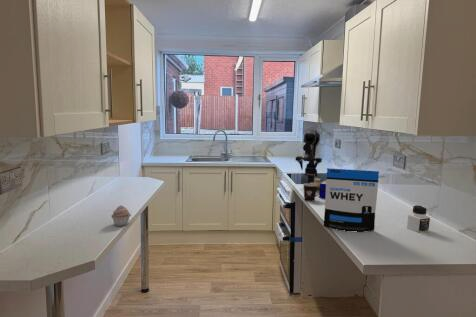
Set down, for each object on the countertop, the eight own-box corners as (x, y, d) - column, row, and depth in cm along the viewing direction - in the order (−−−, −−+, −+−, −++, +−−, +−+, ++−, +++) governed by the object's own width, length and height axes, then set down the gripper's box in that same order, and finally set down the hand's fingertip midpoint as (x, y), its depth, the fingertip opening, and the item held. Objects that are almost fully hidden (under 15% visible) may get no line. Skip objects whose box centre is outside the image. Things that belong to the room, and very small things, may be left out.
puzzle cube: (319, 198, 230) (319, 183, 229) (322, 194, 239) (323, 180, 237) (334, 200, 226) (335, 185, 224) (337, 196, 234) (338, 182, 233)
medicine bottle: (418, 232, 170) (421, 209, 168) (406, 227, 176) (408, 205, 174) (428, 230, 172) (431, 207, 171) (416, 226, 179) (418, 203, 177)
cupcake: (124, 228, 167) (123, 208, 165) (107, 226, 169) (106, 206, 168) (134, 222, 176) (134, 203, 174) (118, 220, 178) (118, 201, 177)
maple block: (314, 183, 259) (315, 178, 259) (320, 184, 258) (320, 178, 257) (313, 184, 256) (314, 179, 255) (319, 185, 254) (319, 179, 254)
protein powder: (323, 223, 181) (326, 166, 176) (372, 227, 175) (377, 169, 171) (323, 229, 172) (327, 170, 167) (375, 234, 166) (380, 173, 162)
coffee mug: (300, 199, 225) (300, 184, 223) (307, 197, 231) (308, 182, 229) (316, 203, 217) (316, 187, 215) (322, 200, 223) (323, 185, 221)
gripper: (294, 150, 251) (293, 171, 254) (320, 152, 244) (319, 173, 247) (297, 148, 261) (296, 168, 264) (322, 150, 254) (321, 171, 257)
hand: (308, 170), depth 257 cm, fingers open, 9 cm apart
